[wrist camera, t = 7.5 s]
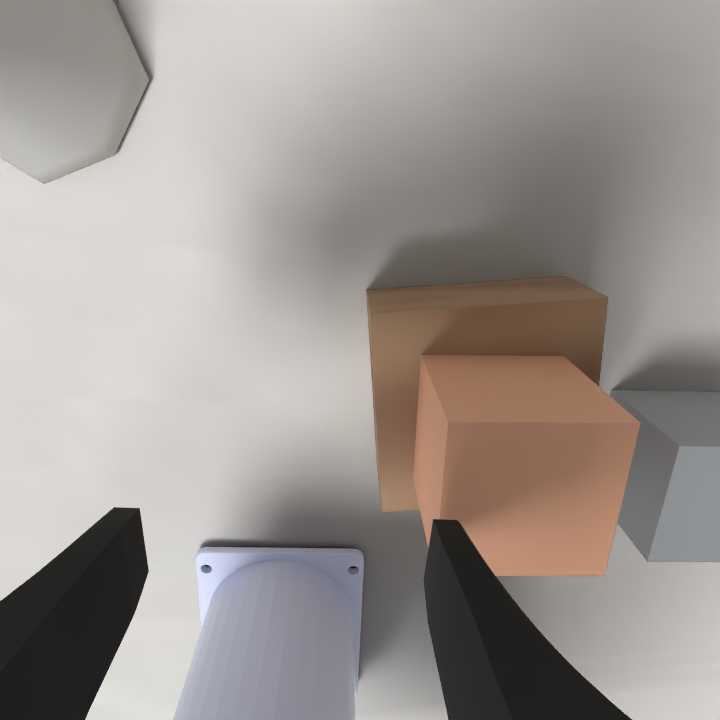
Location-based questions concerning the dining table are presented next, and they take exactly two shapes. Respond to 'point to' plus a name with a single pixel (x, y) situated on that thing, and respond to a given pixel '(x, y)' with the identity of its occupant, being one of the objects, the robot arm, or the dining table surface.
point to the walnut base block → (466, 349)
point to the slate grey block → (673, 475)
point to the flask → (65, 84)
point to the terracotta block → (522, 460)
